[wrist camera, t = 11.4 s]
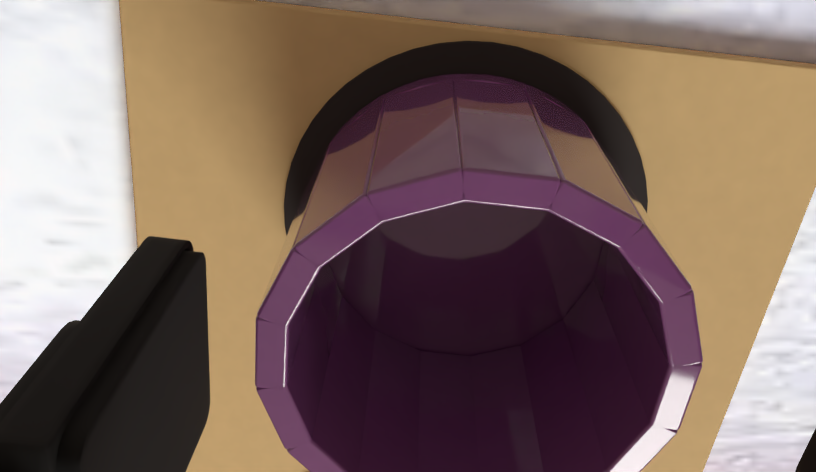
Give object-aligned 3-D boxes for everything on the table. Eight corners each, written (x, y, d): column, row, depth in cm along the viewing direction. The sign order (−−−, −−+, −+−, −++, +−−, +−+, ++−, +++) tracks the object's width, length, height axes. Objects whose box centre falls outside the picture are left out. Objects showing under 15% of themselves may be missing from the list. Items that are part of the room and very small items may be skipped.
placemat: (125, -15, 14) (115, -11, 13) (851, 67, 14) (864, 74, 14) (169, 603, 22) (163, 619, 21) (625, 647, 22) (629, 663, 22)
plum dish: (313, 53, 14) (255, 145, 9) (657, 92, 14) (765, 201, 9) (300, 339, 17) (252, 511, 12) (583, 368, 17) (637, 549, 12)
